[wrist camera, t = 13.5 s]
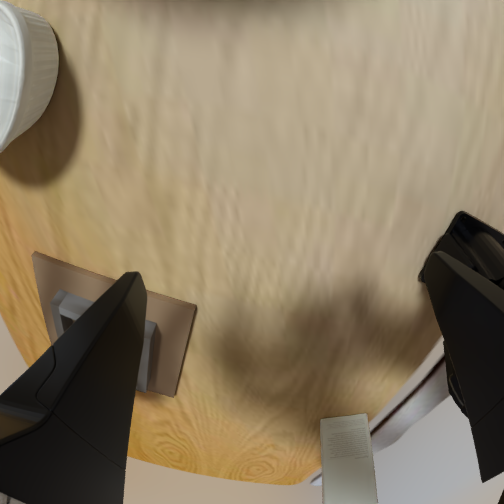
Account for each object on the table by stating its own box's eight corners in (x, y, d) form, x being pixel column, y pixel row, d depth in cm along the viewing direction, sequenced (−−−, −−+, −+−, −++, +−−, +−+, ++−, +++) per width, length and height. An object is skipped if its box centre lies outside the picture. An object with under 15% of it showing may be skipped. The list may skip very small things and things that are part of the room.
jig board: (196, 305, 26) (189, 327, 24) (174, 393, 35) (170, 411, 33) (35, 251, 24) (20, 267, 22) (56, 351, 33) (48, 366, 31)
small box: (362, 435, 40) (369, 513, 29) (320, 440, 41) (321, 519, 30) (368, 411, 35) (378, 504, 25) (319, 417, 36) (322, 511, 26)
